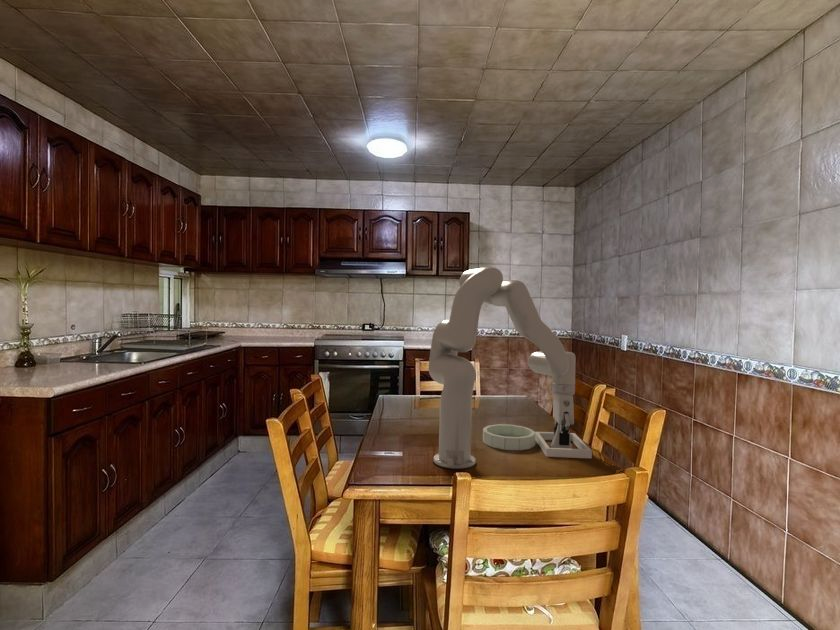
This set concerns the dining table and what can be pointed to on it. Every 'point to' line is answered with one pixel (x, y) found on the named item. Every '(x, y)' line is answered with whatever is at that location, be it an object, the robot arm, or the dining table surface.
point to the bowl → (508, 437)
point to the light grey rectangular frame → (563, 452)
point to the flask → (556, 440)
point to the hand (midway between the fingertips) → (561, 441)
